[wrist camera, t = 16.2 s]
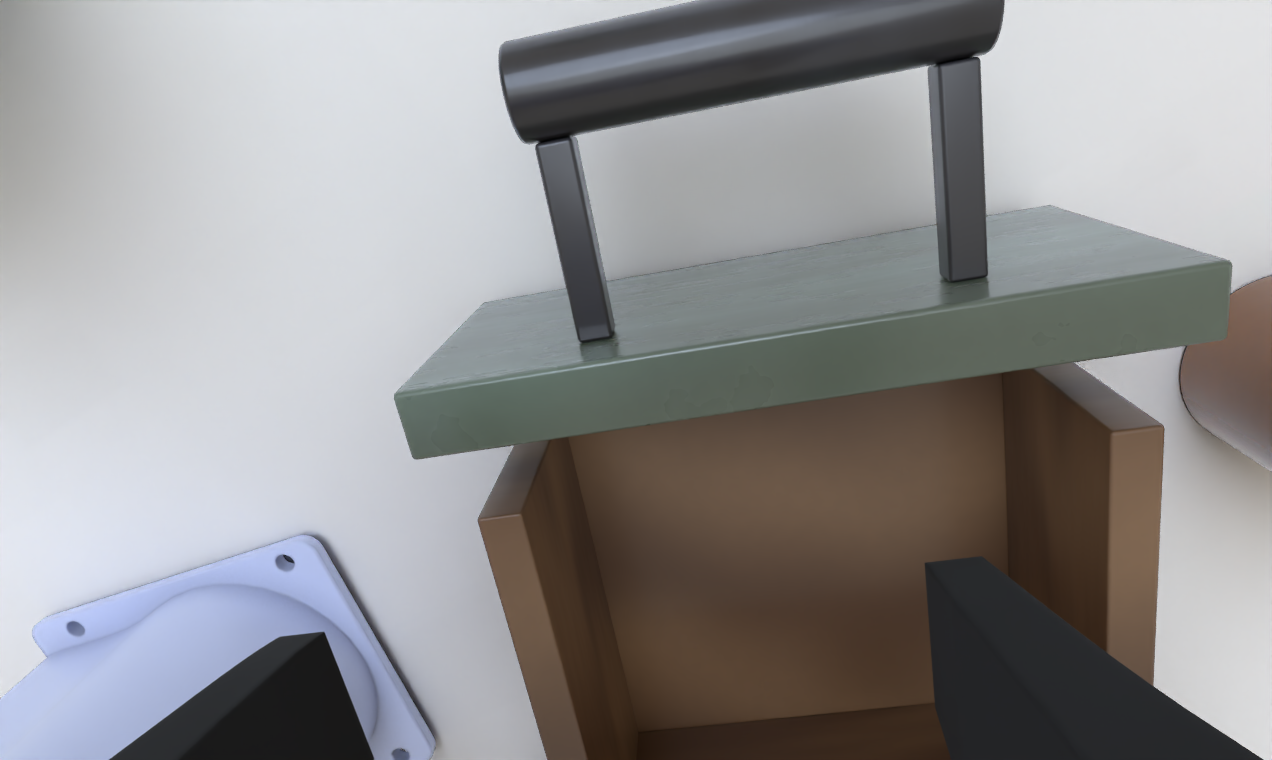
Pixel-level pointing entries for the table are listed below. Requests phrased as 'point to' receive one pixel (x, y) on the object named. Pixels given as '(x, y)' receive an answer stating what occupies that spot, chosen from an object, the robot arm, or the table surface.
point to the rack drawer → (801, 412)
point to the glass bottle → (1236, 376)
